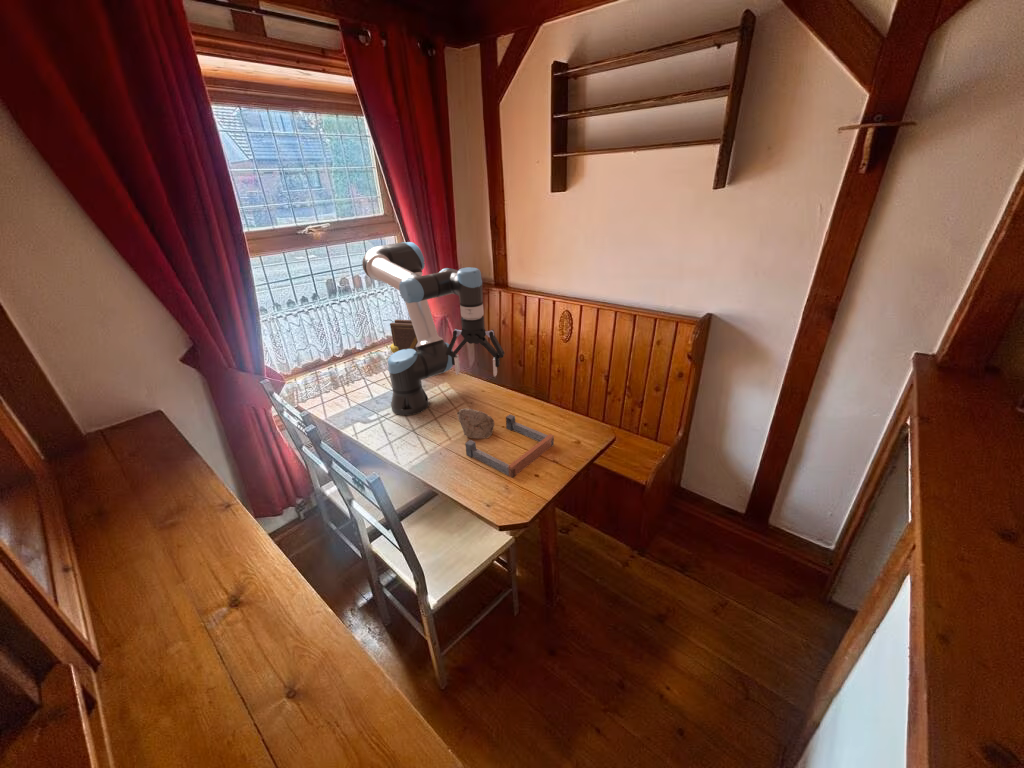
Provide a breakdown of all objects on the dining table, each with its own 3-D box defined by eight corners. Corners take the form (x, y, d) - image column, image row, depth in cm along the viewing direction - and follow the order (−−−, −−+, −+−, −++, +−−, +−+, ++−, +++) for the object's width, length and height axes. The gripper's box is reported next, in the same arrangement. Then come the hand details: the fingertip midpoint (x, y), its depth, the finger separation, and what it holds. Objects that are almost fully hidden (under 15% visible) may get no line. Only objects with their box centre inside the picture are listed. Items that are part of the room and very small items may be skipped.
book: (441, 369, 206) (435, 320, 195) (434, 376, 199) (427, 326, 188) (400, 366, 211) (391, 318, 200) (392, 374, 204) (382, 324, 193)
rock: (493, 407, 158) (497, 411, 151) (490, 435, 159) (494, 440, 152) (456, 405, 155) (458, 409, 147) (453, 433, 156) (455, 438, 148)
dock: (466, 455, 143) (465, 442, 141) (510, 425, 158) (510, 414, 156) (511, 478, 131) (510, 465, 129) (554, 444, 147) (554, 432, 144)
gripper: (432, 319, 138) (439, 376, 148) (507, 321, 135) (509, 380, 145) (439, 311, 145) (445, 367, 155) (511, 313, 141) (512, 370, 151)
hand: (476, 373), depth 150 cm, fingers open, 13 cm apart
